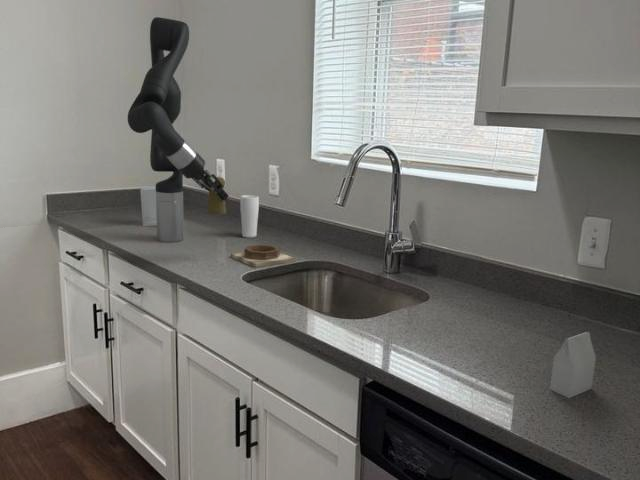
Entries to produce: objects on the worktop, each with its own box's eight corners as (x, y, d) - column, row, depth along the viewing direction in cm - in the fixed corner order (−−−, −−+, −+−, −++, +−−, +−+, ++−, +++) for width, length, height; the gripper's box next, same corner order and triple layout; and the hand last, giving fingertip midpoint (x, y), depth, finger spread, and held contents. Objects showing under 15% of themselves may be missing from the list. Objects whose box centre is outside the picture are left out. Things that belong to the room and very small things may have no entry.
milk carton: (591, 388, 102) (599, 335, 100) (569, 398, 98) (576, 343, 96) (572, 380, 105) (579, 328, 103) (549, 389, 101) (556, 335, 99)
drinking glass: (236, 237, 213) (236, 196, 210) (245, 233, 219) (246, 194, 216) (253, 239, 211) (253, 198, 207) (261, 235, 217) (262, 196, 213)
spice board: (230, 257, 184) (230, 246, 183) (267, 251, 193) (268, 241, 192) (255, 267, 173) (255, 256, 172) (294, 261, 181) (294, 250, 180)
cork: (222, 214, 176) (222, 178, 174) (203, 213, 177) (203, 177, 175) (229, 211, 182) (229, 176, 180) (211, 210, 183) (211, 175, 181)
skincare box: (164, 223, 234) (163, 186, 230) (163, 226, 228) (162, 188, 225) (142, 223, 232) (141, 186, 229) (141, 226, 226) (140, 188, 223)
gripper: (204, 151, 165) (241, 191, 175) (183, 147, 176) (218, 185, 186) (187, 170, 163) (225, 209, 173) (167, 165, 174) (203, 202, 184)
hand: (221, 196), depth 180 cm, fingers closed on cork, 4 cm apart
